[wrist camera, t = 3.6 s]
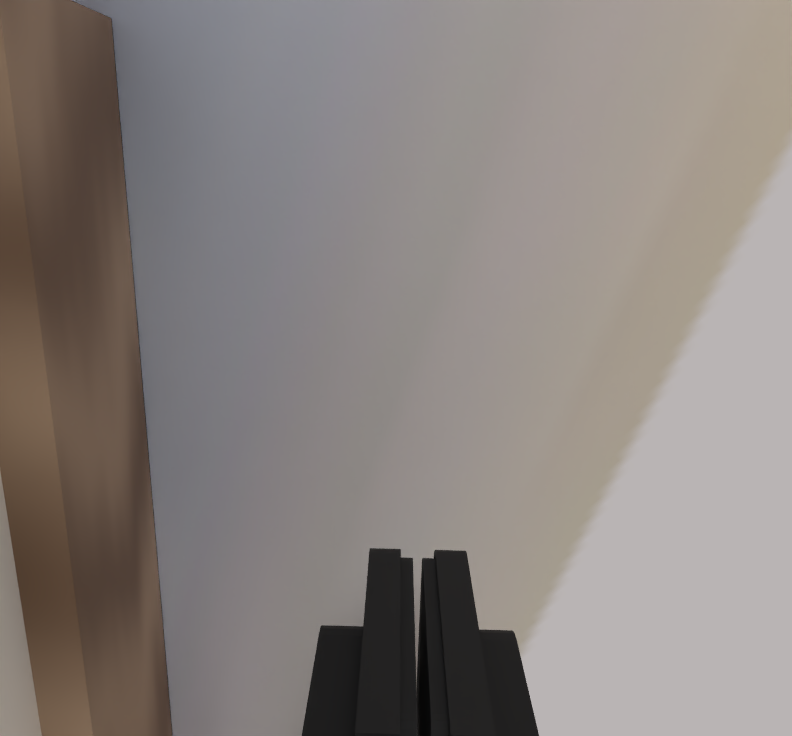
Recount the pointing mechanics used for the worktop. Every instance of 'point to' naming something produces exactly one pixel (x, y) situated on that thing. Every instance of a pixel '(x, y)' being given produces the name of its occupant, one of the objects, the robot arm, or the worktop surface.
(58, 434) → the walnut block
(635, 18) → the worktop surface
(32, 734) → the ceramic tile
